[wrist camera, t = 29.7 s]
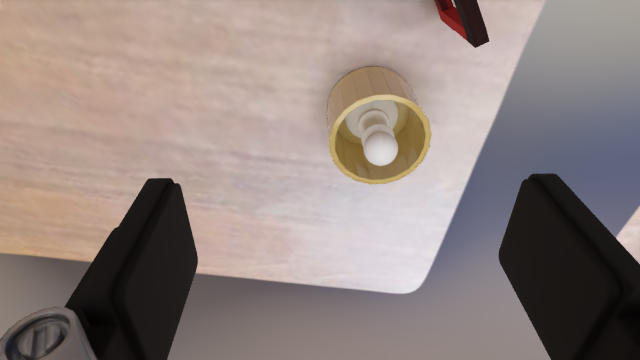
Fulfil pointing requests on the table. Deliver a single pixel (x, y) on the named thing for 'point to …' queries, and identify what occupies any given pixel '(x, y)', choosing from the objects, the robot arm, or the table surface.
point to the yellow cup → (407, 130)
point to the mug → (464, 20)
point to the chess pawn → (375, 130)
